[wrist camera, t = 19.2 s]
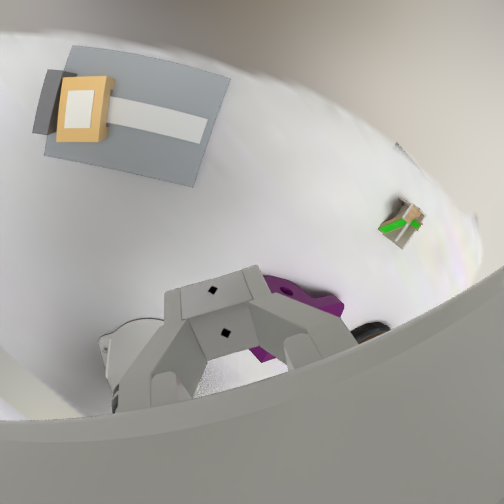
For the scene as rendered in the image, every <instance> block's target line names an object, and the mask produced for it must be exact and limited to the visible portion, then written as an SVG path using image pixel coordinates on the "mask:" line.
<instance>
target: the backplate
mask: <svg viewBox="0 0 504 504" xmlns="http://www.w3.org/2000/svg"><path fill="white" fill-rule="evenodd" d="M83 76H108V77H111V78H113V79H116V80H115V86H114V90H111V92H110V98H109V106H108V113H107V122H106V126H109V131H108V137H107V138H105V139H103V140H101V141H100V142H56V136H57V122H58V111H59V102H60V94H61V87H62V80H63V78H64V77H83ZM230 80H231V79H229V78H226V77H223V76H220V75H217V74H213V73H210V72H207V71H203V70H200V69H196V68H193V67H189V66H185V65H181V64H178V63H174V62H169V61H165V60H161V59H156V58H152V57H147V56H142V55H137V54H132V53H126V52H120V51H114V50H107V49H100V48H92V47H83V46H72V48H71V51H70V54H69V57H68V60H67V63H66V66H65V69H64V71H60V70H49V69H48V70H47V74H46V77H45V80H44V84H43V88H42V91H41V95H40V99H39V103H38V107H37V112H36V116H35V121H34V126H33V132H32V133H37V134H43V135H47V140H46V146H45V152H44V156H48V157H54V158H59V159H65V160H70V161H75V162H80V163H85V164H90V165H95V166H100V167H105V168H110V169H115V170H119V171H124V172H128V173H133V174H137V175H142V176H146V177H151V178H155V179H159V180H163V181H168V182H172V183H176V184H180V185H184V186H188V187H192V188H193V187H194V183H195V180H196V177H197V174H198V171H199V167H200V164H201V161H202V158H203V155H204V152H205V149H206V146H207V143H208V140H209V137H210V134H211V131H212V128H213V126H214V123H215V120H216V117H217V114H218V112H219V109H220V106H221V103H222V101H223V98H224V95H225V93H226V90H227V87H228V85H229V82H230Z"/></svg>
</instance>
